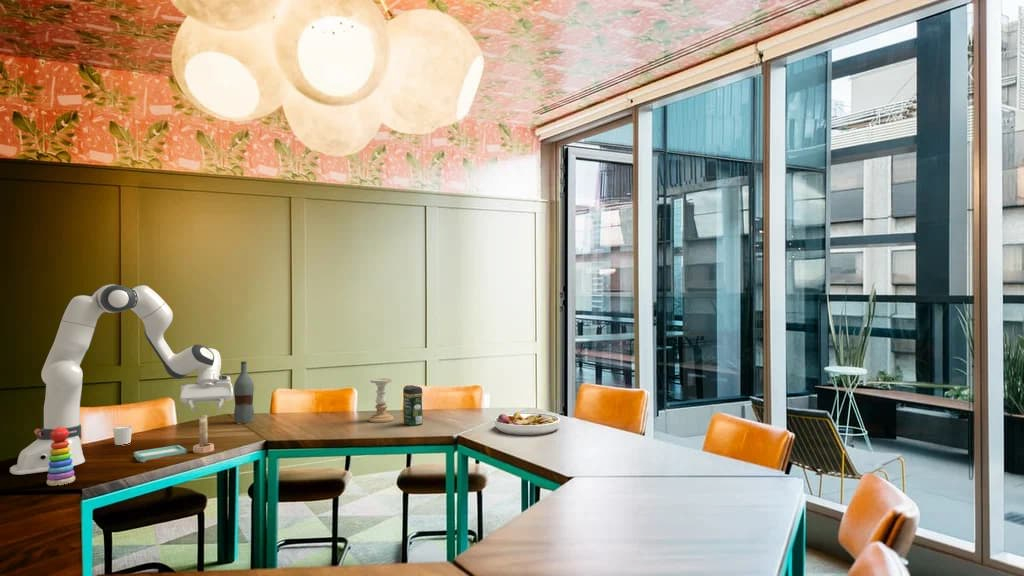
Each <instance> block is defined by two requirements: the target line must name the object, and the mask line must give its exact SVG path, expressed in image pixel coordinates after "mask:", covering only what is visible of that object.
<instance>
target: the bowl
mask: <svg viewBox="0 0 1024 576" xmlns="http://www.w3.org/2000/svg"><path fill="white" fill-rule="evenodd" d="M560 423H561V419H560V417H559V416H557V415H553V414H548V413H539V412H538V413H537V412H515V413H507V414H504V413H502V414H499V416H496V417H495V418H494V425H495V428H497V430H498V431H500V432H502V433H504V434H508V435H515V436H516V435H518V436H536V435H538V436H539V435H546V434H549V433H553V432H554V431H556V430H558V428H559V426H560Z"/></svg>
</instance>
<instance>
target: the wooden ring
mask: <svg viewBox="0 0 1024 576" xmlns="http://www.w3.org/2000/svg"><path fill="white" fill-rule="evenodd" d="M213 451H215V444H214V443H212V442H209V443H208V442H207V446H205V447H200V443H198V444H195V445H193V447H192V452H193V453H194V454H205V453H210V452H213Z"/></svg>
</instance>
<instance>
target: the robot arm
mask: <svg viewBox="0 0 1024 576" xmlns="http://www.w3.org/2000/svg"><path fill="white" fill-rule="evenodd" d="M69 301H70V302H69V303H68V305H67V307H66V309H65V310H64V314H63V315H62V318H61V321H60V324H59V328H58V330H57V333H56V336H55V338H54V342H53V344H52V346H51V348H50V350H49V353H48V354H47V358H46V360H45V362H44V365H43V367H42V369H41V373H40V374H41V379H42V382H43V383H44V384H45V399H44V405H43V427H42V428H41V429H40V428H36V429H35V430H34V434H35V435H36V440H35V441H33V442H31V444H29V445H28V446H27V447H25V448H24V449H22V450H21V451H20V453H19V455H18V458H17V462H16V463H17V464H14V465H12V466H11V467H9V473H11V474H12V475H26V474H27V475H28V474H36V473H44V472H48V468H49V467H50V466H49V462H50V461H51V460H50V459H49V457H50V455H51V454H50V450H51V449H53V448H51V444H52V443H53V442H54V441H53V440H52V439H51V437H50V435H51V432H52V431H53V430H54V429H55V428H58V427H64V428H66V429H67V430H68V432H69V435H68V438H67V439H66V440H65V441H68V442H69V445H68V446H67V447H69V448H70V451H69V453H70V454H71V457H70V458H71V459H72V463H71V464H73V467H74V466H78V465H81V464H84V463H85V462H86V459H85V456H84V454H83V453H84V452H83V449H82V442H81V440H82V437H83V436H82V435H83V432H82V431H83V430H82V429H83V428H82V424H81V419H80V418H81V413H80V412H81V398H82V391H83V389H82V388H83V378H84V377H83V375H84V374H83V369H82V368H81V364H82V361H83V360H84V357H85V355H86V352H87V351H88V350H89V347H90V345H91V342H92V338H93V335H94V333H95V330H96V329H95V328H96V326H97V321H98V320H99V318H100V316H101V315H102V314H104V313H110V314H112V313H113V314H116V313H117V314H118V313H122V312H125V311H127V310H128V311H129V310H131V311H133V312H134V313H135V314H136V316H137V317H138V318H139V319H140V320H141V322H143V325H144V336H145V337H146V340H147V341H148V343H149V345H150V347H151V348H152V349H153V351H154V353H155V354H156V355H157V357H158V359H159V360H160V361H161V363H162V365H163V367H164V370H165V372H166V373H167V375H169V377H171V378H173V379H178V380H179V379H183V378H185V377H187V376H188V375H189V374H190V373H193V372H195V371H197V372H198V374H197V380H196V382H186V383H183V384H182V385H181V386H180V395H179V400H180V403H182V404H189V406H190V411H192V412H194V411H196V408H197V406H196V404H194V403H211V402H212V403H214V402H219V403H216V410H221V409H222V406H223V404H224V403H225V402H226V401H227V402H229V401H232V400H233V399H234V386H233V384H232V380H231V376H229V375H224V374H221V373H220V372H221V370H222V356H221V353H220V352H219V350H217V349H215V348H213V347H212V348H211V347H210V348H209V347H206V346H204V345H201V344H194V345H192V346H191V345H190V347H188V348H186V349H184V350H182V351H181V352H179V353H174V352H173V351H172V349H171V348H170V346H169V345H168V343H167V341H166V340H165V338H164V334H165V331H166V330H167V329H168V328H169V326H170V325H171V323H172V321H173V317H174V313H173V310H172V309H171V307H170V306H169V305H168V304H167V302H166V301H165V300H164V299H163V298H162V297H161V296H160V295H159V294H158V293H157V292H156V291H154V290H153V289H152V288H151V287H149V286H148V285H143V284H142V285H138V286H134V287H133V288H129V287H126V286H124V285H119V284H112V283H111V284H106V285H102V286H101V287H98V288H97V289H96V290H94V291H93V293H91V294H90V295H77V296H74V297H73V298H72V299H71V300H69Z"/></svg>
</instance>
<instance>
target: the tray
mask: <svg viewBox="0 0 1024 576" xmlns="http://www.w3.org/2000/svg"><path fill="white" fill-rule="evenodd" d="M185 454H188V449H187V448H185V447H183V446H181V445H179V444H177V445H170V446H164V447H156V448H151V449H144V450H138V451H134V452H133V458H134V457H135V458H136V459H135V458H134V459H135V460H136V461H138V462H139V461H140V462H143V463H147V462H146V461H149V460H154V459H160V458H167V457H173V456H179V455H185ZM140 462H139V463H140Z"/></svg>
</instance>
